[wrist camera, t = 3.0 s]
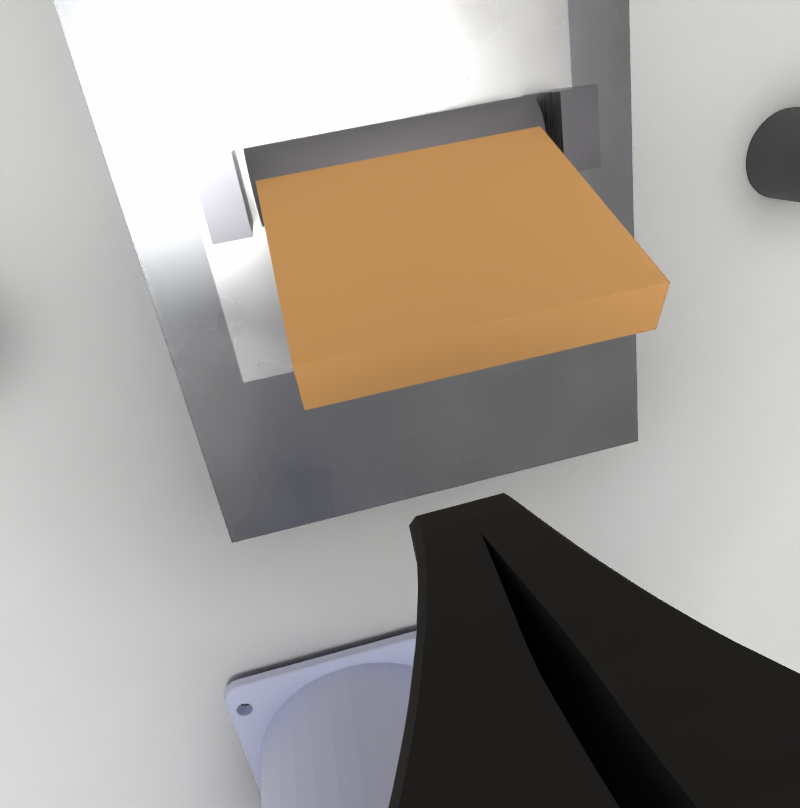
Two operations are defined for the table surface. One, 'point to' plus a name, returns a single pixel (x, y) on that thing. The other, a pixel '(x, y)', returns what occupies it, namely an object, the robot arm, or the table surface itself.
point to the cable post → (776, 156)
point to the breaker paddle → (441, 250)
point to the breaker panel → (248, 247)
